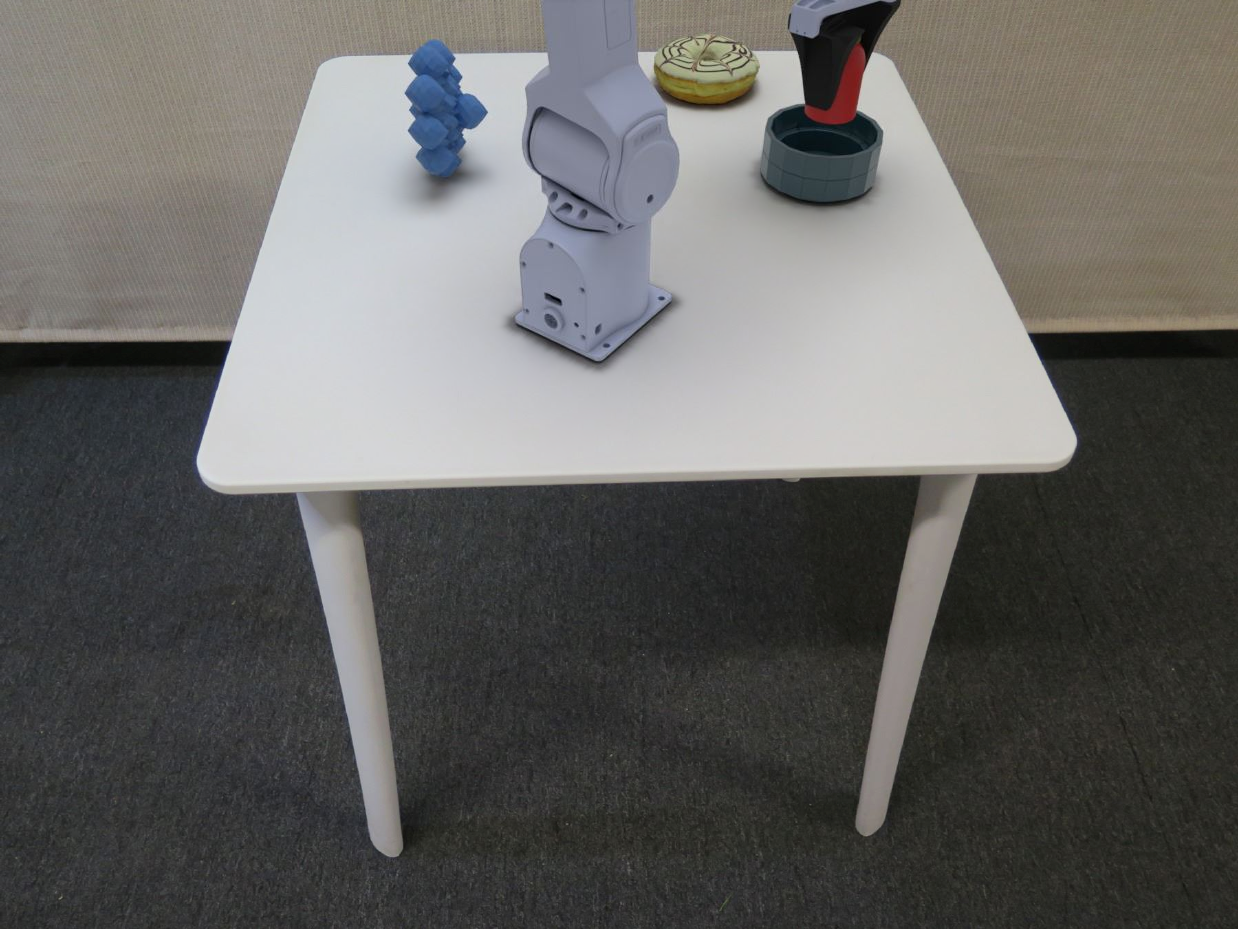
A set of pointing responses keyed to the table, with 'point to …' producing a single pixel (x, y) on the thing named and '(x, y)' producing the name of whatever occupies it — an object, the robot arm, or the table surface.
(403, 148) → the table surface
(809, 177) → the dessert bowl
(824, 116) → the red jar green lid
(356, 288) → the table surface
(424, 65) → the grapes
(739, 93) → the decorated donut
